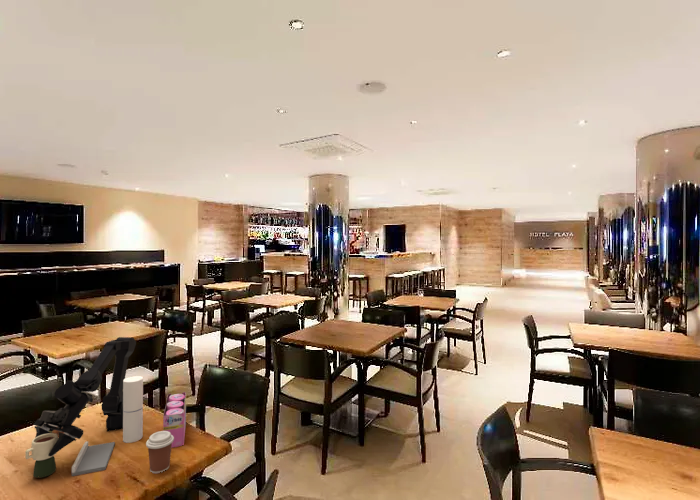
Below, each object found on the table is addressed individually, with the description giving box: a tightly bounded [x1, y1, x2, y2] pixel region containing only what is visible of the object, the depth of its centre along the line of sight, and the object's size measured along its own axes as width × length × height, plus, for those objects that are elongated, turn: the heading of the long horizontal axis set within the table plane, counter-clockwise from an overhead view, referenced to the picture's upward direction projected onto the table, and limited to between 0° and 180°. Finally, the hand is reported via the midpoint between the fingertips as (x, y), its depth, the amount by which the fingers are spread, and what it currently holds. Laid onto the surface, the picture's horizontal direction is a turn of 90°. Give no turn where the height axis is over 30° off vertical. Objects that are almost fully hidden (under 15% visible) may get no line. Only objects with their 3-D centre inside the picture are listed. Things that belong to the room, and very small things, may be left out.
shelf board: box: [71, 440, 116, 477], centre depth 139 cm, size 10×18×3 cm, turn 23°
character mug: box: [25, 433, 59, 478], centre depth 130 cm, size 11×7×13 cm, turn 151°
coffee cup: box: [145, 430, 174, 474], centre depth 135 cm, size 9×9×12 cm
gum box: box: [162, 391, 187, 449], centre depth 159 cm, size 24×8×14 cm, turn 22°
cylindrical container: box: [122, 375, 144, 444], centre depth 155 cm, size 7×7×25 cm
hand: (40, 453), depth 129 cm, fingers open, 9 cm apart
